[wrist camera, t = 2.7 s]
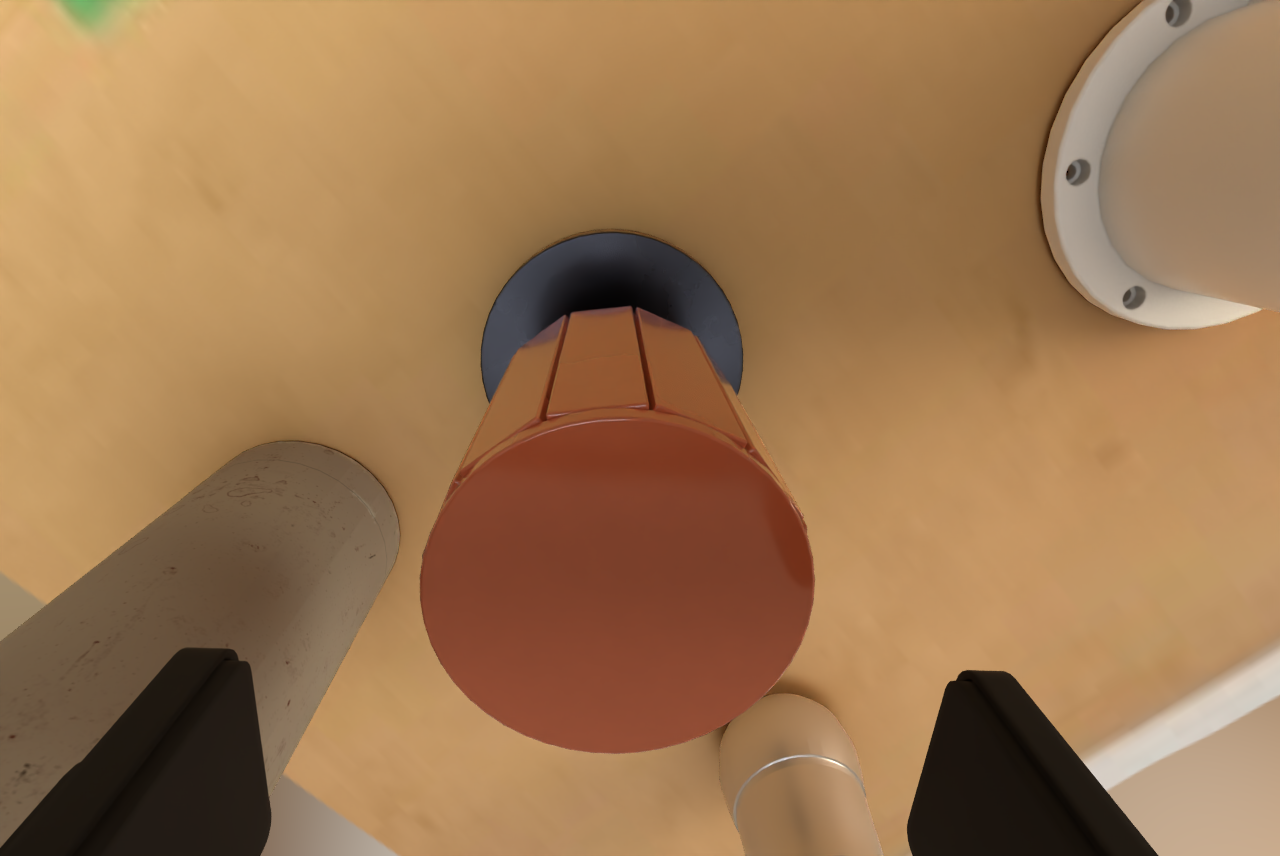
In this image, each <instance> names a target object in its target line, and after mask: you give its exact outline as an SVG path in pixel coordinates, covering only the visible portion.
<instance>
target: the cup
mask: <svg viewBox="0 0 1280 856" xmlns="http://www.w3.org/2000/svg"><path fill="white" fill-rule="evenodd" d="M803 518H804V517H803V514H802V512H801V510H800V508H799V506H798V505H797V503H796V501H795V499H794V497H793V496H792V494H791V492H790V490H789V488H788V487H787V485H786V483H785V481H784V480H783V478H782V476H781V474H780V472H779V471H778V469H777V467H776V465H775V463H774V462H773V460H772V458H771V456H770V454H769V453H768V451H767V449H766V447H765V445H764V444H763V442H762V440H761V438H760V436H759V435H758V433H757V431H756V429H755V427H754V426H753V424H752V422H751V420H750V419H749V417H748V415H747V413H746V411H745V410H744V408H743V406H742V404H741V402H740V401H739V399H738V397H737V395H736V393H735V392H734V390H733V388H732V386H731V384H730V383H729V381H728V379H727V378H726V376H725V375H724V374H723V372H722V371H721V369H720V368H719V366H718V365H717V364H716V362H715V361H714V359H713V358H712V356H711V355H710V354H709V352H708V351H707V349H706V348H705V346H704V345H703V343H702V342H701V341H700V339H699V338H698V336H696V335H695V336H694V335H693V333H692V331H690V330H688V329H686V328H684V327H681V326H679V325H677V324H675V323H672V322H670V321H668V320H666V319H664V318H661V317H659V316H657V315H655V314H652V313H650V312H648V311H646V310H643V309H641V308H639V307H637V308H636V309H635V312H634V314H633V309H632V307H631V306H626V307H617V308H607V309H598V310H588V311H578V312H572V313H571V314H570V318H568V316H566V315H564V316H562V317H561V318H560V319H558V320H557V321H555V322H554V323H553V324H551V325H550V326H549V327H547V328H546V329H545V330H543V331H542V332H541V333H539V334H538V335H536V336H535V337H534V338H532V339H531V340H530V341H528V342H527V343H526V344H524V345H523V346H521V347H520V348H519V349H518V350H517V352H516V354H514V355H513V357H512V359H511V361H510V363H509V365H508V367H507V369H506V371H505V373H504V375H503V377H502V379H501V381H500V383H499V386H498V388H497V390H496V392H495V394H494V396H493V398H492V400H491V402H490V404H489V406H488V408H487V410H486V412H485V414H484V416H483V418H482V420H481V422H480V424H479V426H478V429H477V431H476V433H475V435H474V437H473V439H472V441H471V443H470V445H469V447H468V449H467V451H466V453H465V455H464V457H463V459H462V461H461V463H460V465H459V467H458V469H457V471H456V474H455V476H454V478H453V480H452V482H451V485H450V487H449V490H448V492H447V495H446V497H445V500H444V502H443V505H442V507H441V510H440V512H439V515H438V517H437V520H436V522H435V524H434V526H433V528H432V530H431V532H430V535H429V538H428V541H427V545H426V547H425V550H424V552H423V555H422V559H423V560H422V566H421V574H420V602H421V608H422V614H423V620H424V624H425V627H426V630H427V633H428V636H429V639H430V642H431V645H432V647H433V649H434V651H435V653H436V655H437V657H438V659H439V661H440V663H441V665H442V666H443V668H444V669H445V670H446V672H447V673H448V675H449V676H450V678H451V679H452V681H453V682H454V683H455V684H456V685H457V686H458V687H459V689H460V690H461V691H462V692H463V693H464V694H465V695H466V696H467V697H468V698H469V699H470V700H471V701H472V702H473V703H474V704H476V705H477V706H478V707H479V708H480V709H482V710H483V711H484V712H485V713H486V714H488V715H490V716H491V717H493V718H494V719H496V720H497V721H499V722H500V723H502V724H503V725H505V726H507V727H509V728H511V729H513V730H515V731H517V732H519V733H521V734H523V735H525V736H527V737H530V738H533V739H535V740H538V741H541V742H543V743H546V744H550V745H554V746H557V747H561V748H565V749H570V750H576V751H583V752H590V753H608V754H620V753H638V752H645V751H651V750H657V749H663V748H666V747H670V746H674V745H678V744H681V743H685V742H687V741H690V740H693V739H695V738H698V737H701V736H703V735H706V734H708V733H710V732H712V731H714V730H716V729H718V728H720V727H722V726H724V725H725V724H727V723H729V722H730V721H732V720H733V719H735V718H736V717H738V716H739V715H741V714H742V713H744V712H745V711H747V710H748V709H749V708H750V707H751V706H753V705H754V704H755V703H756V702H757V701H759V700H760V699H761V698H762V697H763V696H764V695H765V694H766V693H767V692H768V691H769V690H770V689H771V688H772V687H773V686H774V684H775V683H776V682H777V681H778V680H779V679H780V677H781V676H782V674H783V673H784V672H785V670H786V669H787V668H788V666H789V665H790V663H791V662H792V660H793V658H794V656H795V654H796V652H797V651H798V649H799V647H800V645H801V643H802V640H803V637H804V635H805V632H806V629H807V627H808V624H809V620H810V615H811V611H812V606H813V601H814V586H815V575H814V563H813V556H812V552H811V547H810V543H809V539H808V536H807V526H806V524H805V522H804V520H803Z"/></svg>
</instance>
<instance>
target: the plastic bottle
mask: <svg viewBox="0 0 1280 856" xmlns="http://www.w3.org/2000/svg"><path fill="white" fill-rule="evenodd" d="M719 780H720V784H721V789H722V792H723V795H724V798H725V801H726V804H727V807H728V810H729V813H730V815H731V817H732V819H733V822H734V824H735V826H736V828H737V830H738V832H739V834H740V838H741V841H742V845H743V848H744V852H745V855H746V856H884V855H883V852H882V849H881V846H880V842H879V839H878V836H877V833H876V829H875V826H874V823H873V820H872V817H871V813H870V810H869V807H868V804H867V800H866V794H865V787H864V781H863V775H862V771H861V767H860V763H859V759H858V756H857V752H856V749H855V747H854V744H853V742H852V740H851V739H850V737H849V736H848V734H847V733H846V731H845V730H844V728H843V727H842V725H841V724H840V722H839V721H838V720H837V718H836V717H835V716H834V714H833V713H832V712H831V711H829V710H828V709H827V708H826V707H825V706H823V705H821V704H819V703H817V702H816V701H813V700H811V699H809V698H806V697H803V696H800V695H796V694H788V693H781V694H772V695H767V696H764V697H762V698H761V699H760V700H759V701H757V702H756V703H755V704H754V705H753V706H751V707H750V708H749V709H748V710H747V711H745V712H744V713H742V714H741V715H739V716H738V717H736V718H735V719H733V720H732V721H731V722H730V724H729V725H728V727H727V729H726V731H725V732H724V734H723V736H722V740H721V744H720V762H719Z"/></svg>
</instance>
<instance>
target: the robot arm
mask: <svg viewBox="0 0 1280 856" xmlns="http://www.w3.org/2000/svg"><path fill="white" fill-rule="evenodd" d="M1067 169H1069V172H1068V175H1067V176H1066V172H1067ZM1041 207H1042V214H1043V222H1044V230H1045V234H1046V236H1047V239H1048V242H1049V245H1050V248H1051V251H1052V254H1053V256H1054V259H1055V261H1056V262H1057V264H1058V266H1059V267H1060V269H1061V270H1062V272H1063V274H1064V275H1065V277H1066V278H1067V280H1068V281H1069V283H1070V284H1071V285H1072V286H1073V287H1074V288H1075V289H1076V290H1077V291H1078V292H1079V293H1080V294H1081V295H1082V296H1083V297H1084V298H1085V299H1086V300H1087V301H1089V302H1090V303H1092V304H1094V305H1095V306H1097V307H1099V308H1100V309H1102V310H1104V311H1105V312H1107V313H1109V314H1111V315H1113V316H1116V317H1119V318H1122V319H1125V320H1128V321H1131V322H1134V323H1136V324H1140V325H1145V326H1150V327H1155V328H1161V329H1166V330H1180V329H1200V328H1205V327H1211V326H1216V325H1221V324H1226V323H1229V322H1232V321H1234V320H1237V319H1240V318H1242V317H1245V316H1248V315H1250V314H1253V313H1256V312H1258V311H1260V310H1262V309H1266V310H1271V311H1275V312H1280V0H1143V1H1142V2H1141V3H1140V4H1139V5H1137V6H1136V7H1135V8H1134V9H1133V10H1132V11H1131V12H1130V13H1129V14H1127V15H1126V16H1125V17H1124V18H1123V19H1122V20H1121V21H1120V22H1119V23H1117V24H1116V25H1115V26H1114V27H1113V28H1112V29H1111V30H1110V31H1109V33H1108V34H1107V35H1106V36H1105V37H1104V39H1103V40H1102V41H1101V42H1100V44H1099V45H1098V46H1097V47H1096V48H1095V50H1094V51H1093V52H1092V53H1091V55H1090V56H1089V57H1088V58H1087V59H1086V61H1085V62H1084V64H1083V66H1082V68H1081V69H1080V71H1079V73H1078V74H1077V76H1076V78H1075V79H1074V81H1073V83H1072V84H1071V86H1070V88H1069V89H1068V91H1067V93H1066V94H1065V97H1064V99H1063V102H1062V104H1061V106H1060V109H1059V111H1058V114H1057V116H1056V119H1055V121H1054V124H1053V126H1052V128H1051V131H1050V136H1049V140H1048V144H1047V149H1046V153H1045V157H1044V162H1043V166H1042V184H1041ZM270 826H271V808H270V801H269V794H268V786H267V779H266V772H265V765H264V757H263V750H262V743H261V736H260V728H259V721H258V714H257V707H256V700H255V692H254V685H253V678H252V671H251V667H250V664H249V663H248V662H247V661H239V659H238V655H237V653H236V652H235V651H234V650H233V649H227V648H193V647H186V648H183V649H180V650H179V651H178V652H177V653H176V654H175V655H174V656H173V657H172V658H171V659H170V660H169V661H168V662H167V664H166V665H165V666H164V667H163V668H162V669H161V670H160V672H159V673H158V674H157V675H156V676H155V677H154V679H153V680H152V681H151V682H150V683H149V684H148V685H147V687H146V688H145V689H144V690H143V691H142V692H141V693H140V695H139V696H138V697H137V698H136V699H135V700H134V701H133V703H132V704H131V705H130V706H129V707H128V708H127V710H126V711H125V712H124V713H123V714H122V715H121V716H120V718H119V719H118V720H117V721H116V722H115V723H114V724H113V726H112V727H111V728H110V729H109V730H108V731H107V733H106V734H105V735H104V736H103V737H102V738H101V739H100V741H99V742H98V743H97V744H96V745H95V746H94V747H93V749H92V750H91V751H90V752H89V753H88V754H87V755H86V757H85V758H84V759H83V760H82V761H81V762H79V763H77V764H76V765H75V766H74V767H72V768H71V769H70V770H69V771H68V772H67V773H66V774H65V775H64V776H63V777H62V778H61V779H60V780H59V781H58V783H57V784H56V785H55V786H54V787H53V788H52V789H51V791H50V792H49V793H48V794H47V795H46V796H45V797H44V799H43V800H42V801H41V802H40V803H39V804H38V805H37V806H36V808H35V809H34V810H33V811H32V812H31V813H30V814H29V816H28V817H27V818H26V819H25V820H24V821H23V822H22V824H21V825H20V826H19V827H18V828H17V829H16V830H15V832H14V833H13V834H12V835H11V836H10V837H9V838H8V839H7V841H6V842H5V843H4V844H3V845H2V846H1V847H0V856H260V855H261V853H262V851H263V849H264V847H265V844H266V842H267V839H268V835H269V831H270ZM907 835H908V842H909V846H910V849H911V852H912V855H913V856H1158V855H1157V853H1156V852H1155V851H1154V850H1153V848H1152V847H1151V846H1150V845H1149V843H1148V842H1147V841H1146V840H1145V838H1144V837H1143V836H1142V835H1141V834H1140V832H1139V831H1138V830H1137V829H1136V827H1135V826H1134V825H1133V824H1132V823H1131V821H1130V820H1129V819H1128V817H1127V816H1126V815H1125V814H1124V813H1123V811H1122V810H1121V809H1120V808H1119V807H1118V805H1117V804H1116V803H1115V802H1114V800H1113V799H1112V798H1111V796H1110V795H1109V794H1108V793H1107V792H1106V790H1105V789H1104V788H1103V787H1102V785H1101V784H1100V783H1099V782H1098V780H1097V779H1096V778H1095V777H1094V775H1093V774H1092V773H1091V772H1090V770H1089V769H1088V768H1087V767H1086V766H1085V764H1084V763H1083V762H1082V761H1081V759H1080V758H1079V757H1078V756H1077V754H1076V753H1075V752H1074V751H1073V749H1072V748H1071V747H1070V746H1069V745H1068V743H1067V742H1066V741H1065V740H1064V738H1063V737H1062V736H1061V735H1060V733H1059V732H1058V731H1057V730H1056V728H1055V727H1054V726H1053V725H1052V724H1051V722H1050V721H1049V720H1048V719H1047V717H1046V716H1045V715H1044V714H1043V712H1042V711H1041V710H1040V709H1039V707H1038V706H1037V705H1036V704H1035V703H1034V701H1033V700H1032V699H1031V698H1030V696H1029V695H1028V694H1027V693H1026V691H1025V690H1024V689H1023V688H1022V686H1021V685H1020V684H1019V683H1018V682H1017V680H1016V679H1015V678H1014V677H1013V676H1012V675H1011V674H1009V673H1007V672H1004V671H975V670H966V671H962V672H961V673H960V674H959V675H958V678H957V680H956V681H950V682H949V683H948V684H947V686H946V689H945V692H944V696H943V699H942V703H941V706H940V710H939V713H938V717H937V720H936V724H935V727H934V731H933V734H932V738H931V741H930V745H929V749H928V752H927V756H926V759H925V763H924V766H923V770H922V773H921V777H920V780H919V784H918V787H917V791H916V794H915V798H914V801H913V805H912V809H911V812H910V816H909V819H908V824H907Z"/></svg>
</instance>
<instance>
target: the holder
mask: <svg viewBox="0 0 1280 856" xmlns="http://www.w3.org/2000/svg"><path fill="white" fill-rule="evenodd" d="M626 306H631V307H632V309H633V314H634V312H635V309H636V308H637V307H639V308H641V309H643V310H646V311H648V312H650V313H652V314H655V315H657V316H659V317H661V318H664V319H666V320H668V321H670V322H672V323H675V324H677V325H679V326H681V327H684V328H686V329H688V330H690V331H692V333H693V335H694V336H695V335H696V336H698V338H699V339H700V341H701V342H702V343H703V345H704V346H705V348H706V349H707V351H708V352H709V354H710V355H711V356H712V358H713V359H714V361H715V362H716V364H717V365H718V366H719V368H720V369H721V371H722V372H723V374H724V375H725V376H726V378H727V379H728V381H729V383H730V384H731V386H732V388H733V390H734V392H735V393H736V395H738V392H739V389H740V384H741V378H742V372H743V348H742V339H741V334H740V330H739V326H738V322H737V319H736V317H735V314H734V312H733V309H732V307H731V304H730V303H729V301H728V299H727V297H726V296H725V294H724V292H723V291H722V289H721V288H720V286H719V285H718V284H717V283H716V281H715V280H714V279H713V277H712V276H711V275H710V274H709V273H708V272H707V271H706V270H705V269H704V268H703V267H702V266H701V265H700V264H699V263H698V262H697V261H696V260H695V259H694V258H692V257H691V256H689V255H688V254H687V253H685V252H684V251H683V250H681V249H680V248H678V247H676V246H674V245H672V244H671V243H669V242H667V241H664V240H662V239H659V238H657V237H654V236H652V235H648V234H644V233H640V232H636V231H629V230H619V229H605V230H594V231H588V232H582V233H578V234H575V235H572V236H569V237H566V238H563V239H561V240H559V241H557V242H555V243H553V244H550V245H548V246H547V247H545V248H544V249H542V250H541V251H539V252H538V253H536V254H535V255H533V256H532V257H531V258H530V259H529V260H527V261H526V262H525V263H524V264H523V265H522V266H521V267H520V268H519V269H518V270H517V271H516V272H515V274H514V275H513V276H512V277H511V278H510V279H509V281H508V282H507V283H506V284H505V286H504V287H503V289H502V290H501V292H500V293H499V295H498V296H497V298H496V300H495V302H494V304H493V306H492V309H491V311H490V313H489V315H488V319H487V322H486V325H485V328H484V332H483V339H482V345H481V371H482V380H483V384H484V388H485V392H486V396H487V399H488V401H489V404H490V402H491V400H492V398H493V396H494V394H495V392H496V390H497V388H498V386H499V383H500V381H501V379H502V377H503V375H504V373H505V371H506V369H507V367H508V365H509V363H510V361H511V359H512V357H513V355H514V354H516V352H517V350H518V349H519V348H520V347H521V346H523V345H524V344H526V343H527V342H528V341H530V340H531V339H532V338H534V337H535V336H536V335H538V334H539V333H541V332H542V331H543V330H545V329H546V328H547V327H549V326H550V325H551V324H553V323H554V322H555V321H557V320H558V319H560V318H561V317H562V316H564V315H566V316H568V318H570V314H571V313H572V312H578V311H588V310H598V309H607V308H617V307H626Z"/></svg>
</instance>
